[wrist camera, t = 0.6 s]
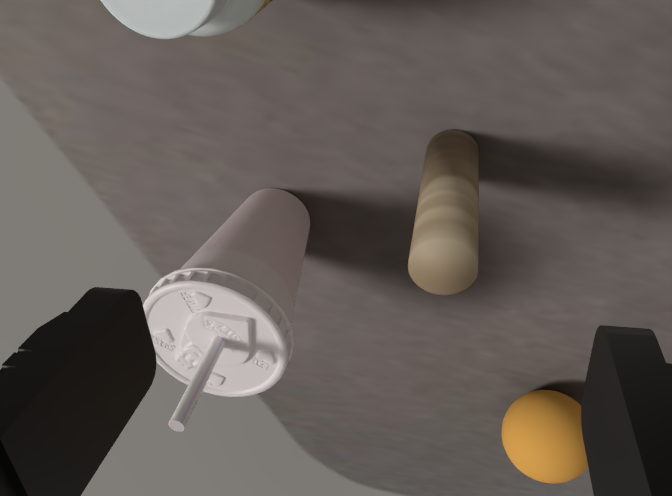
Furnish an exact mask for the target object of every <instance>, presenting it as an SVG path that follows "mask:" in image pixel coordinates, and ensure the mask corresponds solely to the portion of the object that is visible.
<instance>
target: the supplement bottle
mask: <svg viewBox="0 0 672 496" xmlns="http://www.w3.org/2000/svg"><path fill="white" fill-rule="evenodd" d="M101 1H102V3H103V4H104V6H105V7H106V8H107V9H108V10H109V11H110V13H111V14H112V15H113V16H115V17H116V18H117V19H118V20H119V21H120V22H121V23H123V24H124V25H126V26H127V27H129V28H130V29H132V30H134V31H136V32H138V33H140V34H143V35H145V36H148V37H152V38H158V39H173V38H178V37H182V36H185V35H194V36H214V35H219V34H223V33H226V32H229V31H231V30H234V29H236V28H238V27H239V26H241V25H243V24H244V23H246V22H247V21H248V20H250V19H251V18H252V17H253V16H255V15H256V14H257V13H258V12H259V11H261V10H262V9H263V8H264V7H265V6H266V5H268V4H269V3H270V2H271V1H272V0H101Z"/></svg>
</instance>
